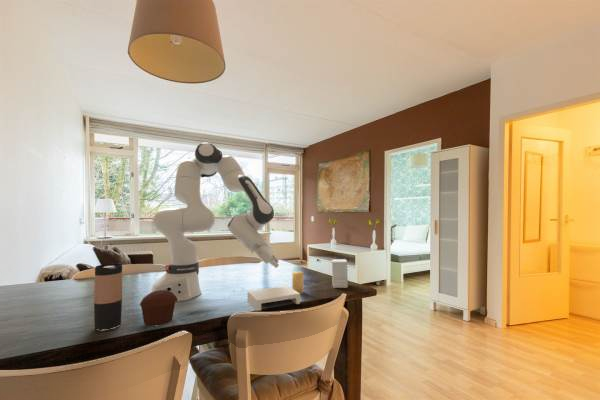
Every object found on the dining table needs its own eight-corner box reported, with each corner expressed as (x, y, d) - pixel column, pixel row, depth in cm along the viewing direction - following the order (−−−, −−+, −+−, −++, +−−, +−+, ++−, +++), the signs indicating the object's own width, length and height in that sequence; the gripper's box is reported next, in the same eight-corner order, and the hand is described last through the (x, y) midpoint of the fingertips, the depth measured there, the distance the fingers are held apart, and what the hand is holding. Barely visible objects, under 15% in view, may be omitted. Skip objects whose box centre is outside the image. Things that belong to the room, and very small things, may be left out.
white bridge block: (257, 310, 106) (257, 300, 106) (247, 300, 118) (247, 291, 118) (300, 303, 114) (300, 293, 114) (287, 294, 126) (287, 285, 126)
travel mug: (102, 322, 96) (103, 263, 97) (126, 321, 97) (127, 263, 97) (88, 332, 88) (89, 268, 89) (113, 331, 89) (114, 267, 90)
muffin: (136, 330, 90) (136, 298, 90) (142, 317, 100) (142, 289, 101) (177, 324, 94) (177, 294, 95) (178, 312, 105) (178, 285, 105)
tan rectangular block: (295, 294, 126) (295, 274, 127) (290, 291, 131) (290, 272, 131) (305, 292, 128) (305, 273, 129) (300, 290, 133) (300, 270, 133)
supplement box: (346, 284, 143) (346, 259, 143) (347, 288, 136) (347, 261, 136) (332, 283, 144) (331, 258, 144) (332, 287, 136) (332, 261, 137)
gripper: (259, 241, 120) (282, 263, 120) (262, 236, 140) (282, 256, 141) (249, 252, 120) (272, 274, 120) (253, 245, 140) (273, 265, 140)
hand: (277, 264), depth 131 cm, fingers open, 8 cm apart
